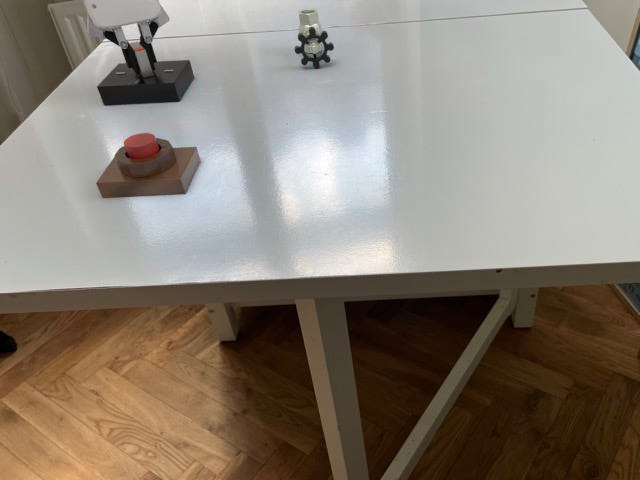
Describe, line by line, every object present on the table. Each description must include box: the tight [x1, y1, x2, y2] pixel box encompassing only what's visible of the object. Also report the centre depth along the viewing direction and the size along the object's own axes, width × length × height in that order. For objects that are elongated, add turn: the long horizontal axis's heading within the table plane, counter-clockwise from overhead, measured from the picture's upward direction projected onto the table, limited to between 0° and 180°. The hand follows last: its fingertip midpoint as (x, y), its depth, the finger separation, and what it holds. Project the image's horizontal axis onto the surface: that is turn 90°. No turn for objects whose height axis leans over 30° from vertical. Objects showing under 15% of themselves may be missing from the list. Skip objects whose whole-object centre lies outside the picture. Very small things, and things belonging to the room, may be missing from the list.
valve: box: [294, 8, 335, 70], centre depth 97 cm, size 7×7×12 cm
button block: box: [95, 137, 202, 199], centre depth 68 cm, size 10×8×4 cm
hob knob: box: [129, 41, 154, 78], centre depth 87 cm, size 5×2×4 cm, turn 32°
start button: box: [123, 132, 159, 159], centre depth 66 cm, size 4×4×2 cm
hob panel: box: [96, 59, 195, 106], centre depth 90 cm, size 12×10×3 cm
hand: (143, 69), depth 88 cm, fingers closed on hob knob
